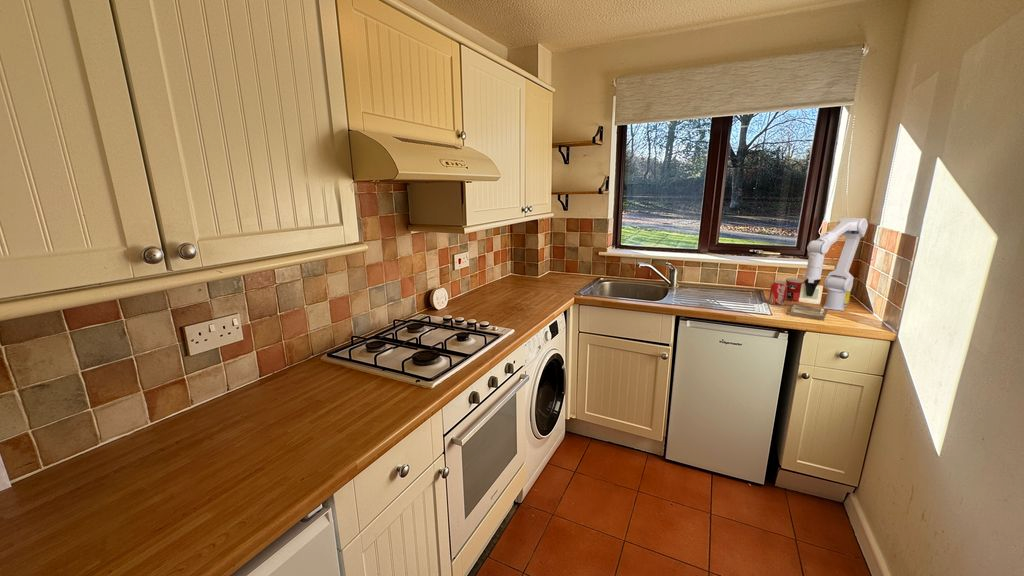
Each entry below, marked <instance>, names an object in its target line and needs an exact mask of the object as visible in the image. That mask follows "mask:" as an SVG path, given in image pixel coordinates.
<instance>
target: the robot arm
mask: <svg viewBox="0 0 1024 576" xmlns="http://www.w3.org/2000/svg"><path fill="white" fill-rule="evenodd" d="M868 227H869V224H868V220H867V219H866V218H864V217H863V218H862V217H860V218H859V217H845V216H842V217H841V218H839V219H838V221H837V224H836V226H835V227H834V228H833V229H832V230H831V231H825V233H823V234H822V235H821V236H820V237H818V238H817V239H816V240H815V239H814V240H811V241H810V242H809V243H808V245H807V247H806V249H807V256H808V259H807V266H806V272H805V274H803V275H802V277H803V278H805V280H804V284H805V286H806V294H807V296H811V297H812V296H813V294H814V291H815V289H816V287H817V285H819V284H820V282H821V279H822V272H823V265H824V261H825V255H826V254H828V252H829V249H830V248H831V246H832V245H833V244H835V243H836V242H837V241H838V239H839V237H840V236H841V235H843V236H844V237H845V238H846V239H845V242H844V245H843V247H842V251H841V253H840V257H839V259H838V262H837V265H836V268H835V269H834V270H832V271H830V272H828V274H827V276H826V277H825V279H824V282H823V285H824V287H825V289H826V290H827V293H826V299H825V303H824V304H823V307H822V308H827V309H828V310H834V311H840V312H841V311H842V312H844V311H845V307H846V306H844V301H845V296H846V292H848V291H849V290H851V291H852V288H853V285H854V280H855V279H854V278H855V277H854V276H853V275H852V274H851V273H850V272H849V271H850V269H851V266H852V263H853V262H854V261H853V260H854V257H855V254H856V252H857V249H858V247H859V243H860V241H861V238H864V237H865V234H866V232H867V229H868Z"/></svg>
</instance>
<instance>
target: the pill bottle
mask: <svg viewBox="0 0 1024 576" xmlns="http://www.w3.org/2000/svg"><path fill="white" fill-rule="evenodd" d="M851 293H852V289H851V290H849V291H848V292H846V296H845V301H844V306H845V307H847V306H849V303H850V299H851Z"/></svg>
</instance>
